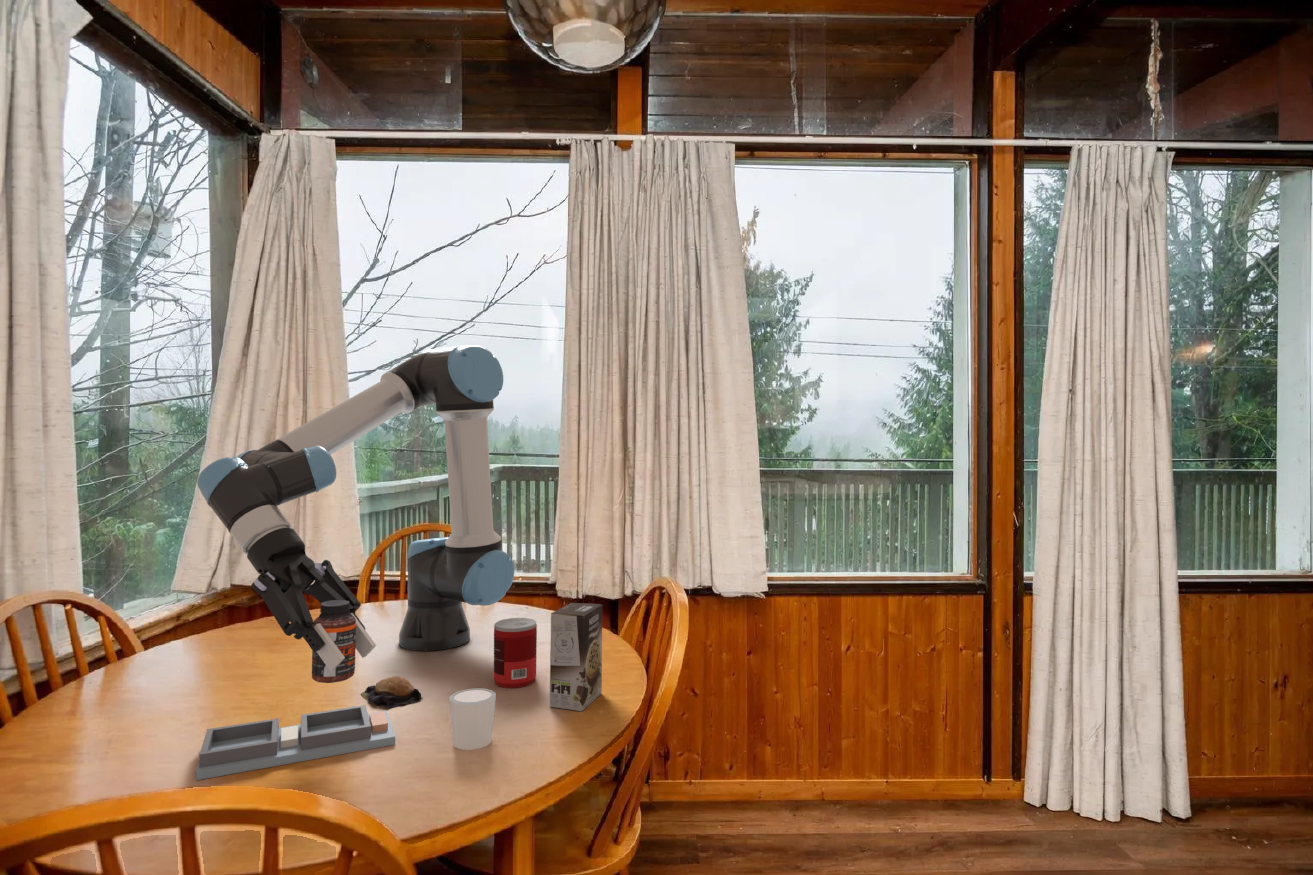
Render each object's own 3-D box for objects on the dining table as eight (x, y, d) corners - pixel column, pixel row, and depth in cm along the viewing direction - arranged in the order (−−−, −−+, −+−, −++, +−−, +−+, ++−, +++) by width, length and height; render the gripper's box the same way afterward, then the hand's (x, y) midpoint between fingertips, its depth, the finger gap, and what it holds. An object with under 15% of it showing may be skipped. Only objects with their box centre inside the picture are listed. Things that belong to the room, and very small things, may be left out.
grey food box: (583, 712, 118) (584, 615, 118) (548, 707, 120) (549, 612, 120) (603, 693, 127) (604, 603, 127) (570, 689, 129) (571, 600, 129)
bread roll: (356, 698, 125) (356, 677, 125) (403, 686, 131) (403, 666, 131) (380, 715, 118) (380, 692, 118) (428, 702, 123) (428, 681, 123)
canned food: (544, 677, 135) (544, 620, 135) (519, 691, 128) (519, 630, 128) (511, 671, 138) (511, 615, 138) (485, 684, 131) (485, 625, 131)
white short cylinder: (453, 755, 102) (454, 706, 102) (444, 737, 108) (444, 691, 108) (501, 746, 105) (501, 699, 105) (489, 729, 111) (489, 684, 111)
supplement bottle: (338, 686, 103) (339, 608, 103) (302, 682, 104) (303, 605, 104) (363, 672, 109) (364, 599, 109) (329, 669, 110) (329, 596, 110)
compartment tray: (386, 717, 115) (386, 699, 115) (395, 744, 105) (395, 724, 105) (205, 747, 104) (205, 727, 104) (195, 780, 94) (195, 757, 94)
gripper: (303, 548, 120) (382, 655, 115) (200, 567, 102) (288, 695, 97) (328, 519, 119) (410, 625, 113) (229, 532, 101) (320, 660, 95)
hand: (353, 657), depth 105 cm, fingers closed on supplement bottle, 6 cm apart
